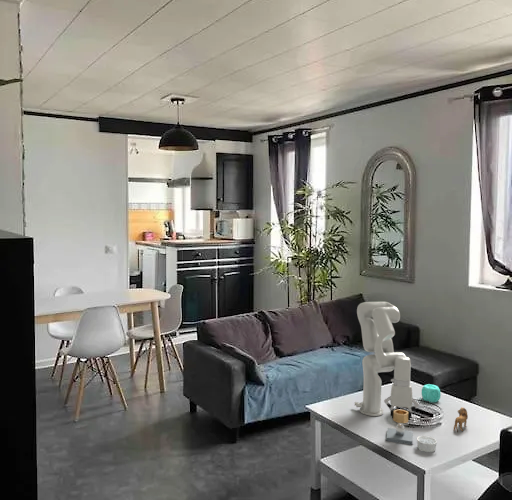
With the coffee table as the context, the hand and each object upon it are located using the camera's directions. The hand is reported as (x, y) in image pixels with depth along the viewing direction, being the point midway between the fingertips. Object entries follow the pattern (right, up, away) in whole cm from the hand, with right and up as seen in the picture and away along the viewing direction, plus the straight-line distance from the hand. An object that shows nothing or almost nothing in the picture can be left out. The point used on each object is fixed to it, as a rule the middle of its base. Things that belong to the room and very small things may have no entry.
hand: (400, 418), depth 257 cm
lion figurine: (+34, -9, +13) cm, 37 cm away
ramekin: (+9, -11, -10) cm, 18 cm away
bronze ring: (0, -1, 0) cm, 1 cm away
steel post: (0, -8, +1) cm, 8 cm away
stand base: (0, -10, +1) cm, 10 cm away
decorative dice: (+31, -6, +52) cm, 61 cm away
